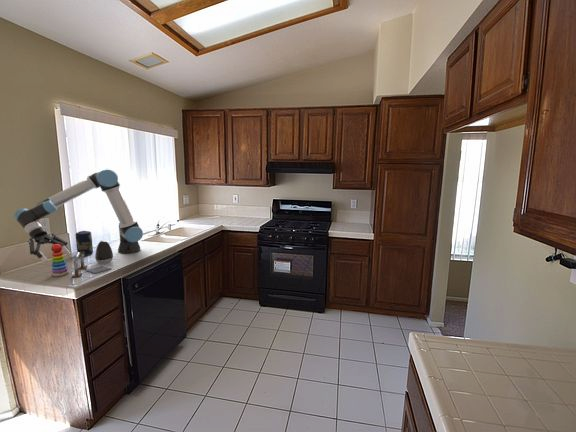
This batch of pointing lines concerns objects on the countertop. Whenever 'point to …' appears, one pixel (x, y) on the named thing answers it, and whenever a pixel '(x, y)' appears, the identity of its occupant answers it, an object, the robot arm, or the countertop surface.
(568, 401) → the countertop surface
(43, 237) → the robot arm
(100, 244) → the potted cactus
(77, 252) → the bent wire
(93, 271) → the mat
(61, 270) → the stacking toy
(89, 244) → the canister
